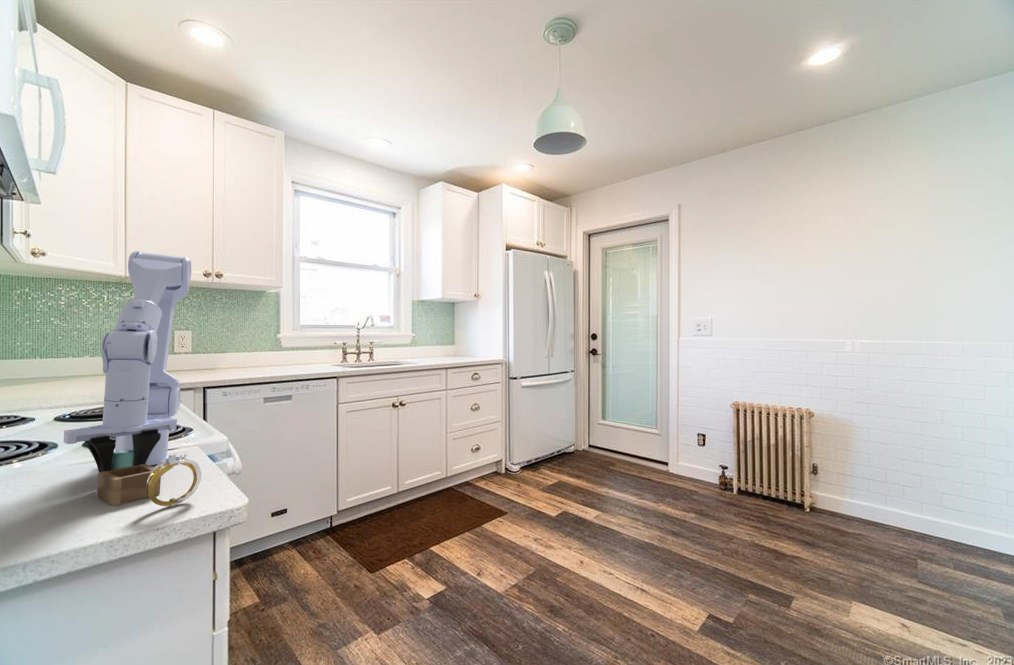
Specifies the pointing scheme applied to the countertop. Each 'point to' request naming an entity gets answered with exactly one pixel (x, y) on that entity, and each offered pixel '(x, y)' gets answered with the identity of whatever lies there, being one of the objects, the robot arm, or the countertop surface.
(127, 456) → the teal cylinder
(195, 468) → the ring
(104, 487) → the bead block
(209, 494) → the countertop surface
